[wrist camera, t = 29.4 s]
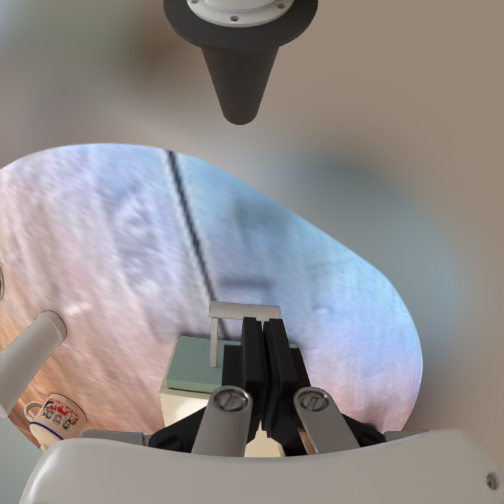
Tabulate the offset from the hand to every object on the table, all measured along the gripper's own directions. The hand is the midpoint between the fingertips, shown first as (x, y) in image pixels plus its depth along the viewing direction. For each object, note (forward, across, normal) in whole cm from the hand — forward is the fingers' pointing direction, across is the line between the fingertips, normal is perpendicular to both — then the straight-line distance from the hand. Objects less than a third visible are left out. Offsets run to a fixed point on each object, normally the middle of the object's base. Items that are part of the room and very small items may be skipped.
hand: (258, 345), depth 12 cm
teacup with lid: (+16, +32, +34) cm, 50 cm away
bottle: (+16, +26, +14) cm, 34 cm away
